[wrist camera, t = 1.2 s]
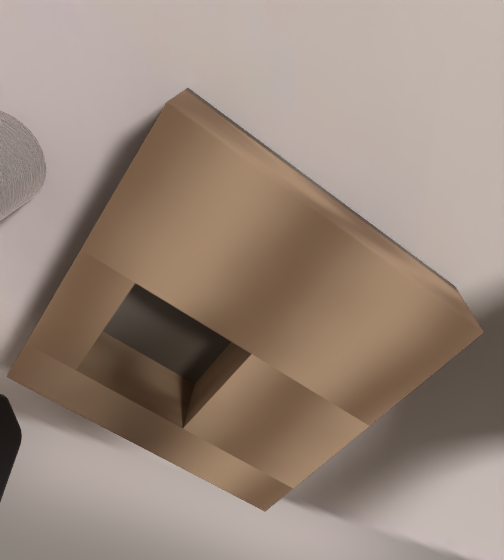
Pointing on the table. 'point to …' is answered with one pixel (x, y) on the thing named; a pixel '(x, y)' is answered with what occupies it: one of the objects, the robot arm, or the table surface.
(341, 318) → the pocket board
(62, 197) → the table surface
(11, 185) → the aluminium peg
